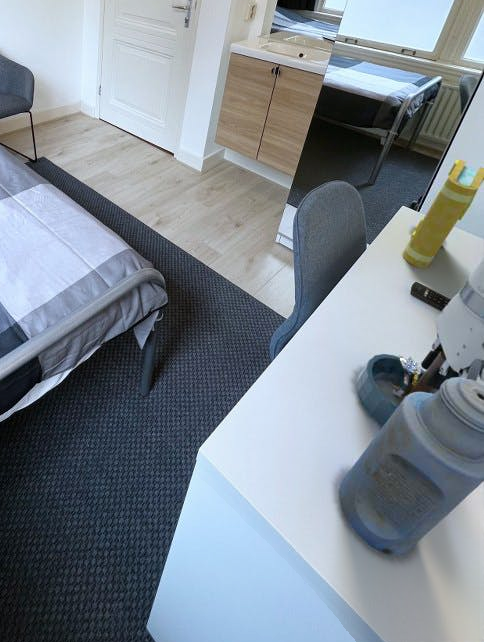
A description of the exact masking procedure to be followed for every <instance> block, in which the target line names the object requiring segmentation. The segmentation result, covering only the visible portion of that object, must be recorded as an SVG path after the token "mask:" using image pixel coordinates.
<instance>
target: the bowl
mask: <svg viewBox="0 0 484 642" xmlns="http://www.w3.org/2000/svg"><path fill="white" fill-rule="evenodd" d="M415 371H416V370H415ZM425 371H426V370H425V369H423V368H421V373H420V374H418V379H417V382H418V380H419V379H420V378H421V377H422V375H423V374H424V373H425ZM408 375H409V381H408V385H409V383H410V381H411V376H412V374H411V375H410V374H409V373H408ZM378 380H382V381H388V382H390V383H392V384H393V383H394V384H396V385H398V387H400V388H401V387H402V385H403V382H404V371H403V367H402V365H401V362H400V358H399V357H398V356H397V355H395V354H387V353H380V354H375V355H373V356H372V357H371V358H369V360H368V361H367V362H366V363H365V365H364V366H363V369H362V370H361V371H360V373H359V375H358V377H357V380H356V382H355V383H356V384H355V385H356V392H357V395H358V397H359V399H360V401H361V403H362V405H363V407H364V408H365V409H366V410H367V412H368V413H369V415H370V416H371V417H372V418H373V419H374V420H375V421H376V422H378V424H380V425H381V426H382V427H383V426H384V425H385V423H386V422H387V421H388V419H389V418H390V417H391V415H392V414H393V413H394V411H395V410H396V409H397V407H398V406H397V405H395V404H394V403H393V402H391V401H390V400H389V399H388V398H387V397H386V395H385V394H384V393H383V392H382V391H381V390H380V388H379V387H378V385H377V382H376V381H378ZM417 382H416V383H417ZM408 385H407V387H408ZM438 391H439V390H438Z"/></svg>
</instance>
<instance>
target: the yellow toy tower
mask: <svg viewBox="0 0 484 642" xmlns="http://www.w3.org/2000/svg"><path fill="white" fill-rule="evenodd" d="M466 164H467V161H465V160H462V159H460V158H457V159H456V160H455V162H454V163H453V165H452V167H451V169H450V171H449V172H448V174H447V176H448V177H447V179H446V181H445V182H444V184H443V185H442V187H441V188H440V190H439V193H438V194H437V196H436V198H435V199H434V201H433V202H432V203H431V206H430V208H429V209H428V211H427V213H426V214H425V215H424V217H423V218H421V219H420V222H419V223H418V225H417V226H416V228H415V229H414V231H413V232H412V234H411V236H410V238H411V239H410V241H409V242H408V244H407V245H406V248H405V249H404V251H403V252H402V258H403V259H404V260H405V261H406V262H408V263H409V264H411V265H412V266H414V267H416V268H421V269H426V268H428V267H429V266H430V264H431V263H432V261H433V260H434V258H435V257H436V255H437V253H438V252H439V250H440V249H441V247H442V246H443V244H444V242H445V241H446V239H447V238H448V236H449V235H450V233H451V231H452V230H453V228H454V227H455V225H456V224H457V222H458V221H461V220H462V219H463V217H464V216H465V214H466V213H467V211H468V210H469V208H470V207H471V205H472V203H473V201H474V198H475V197H476V195H477V193H478V191H479V188H480V187H481V185H482V183H483V182H484V167H483V166H480V167H479V168H478V169H474V168H472V167H469V166H466Z"/></svg>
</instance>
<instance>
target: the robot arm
mask: <svg viewBox="0 0 484 642" xmlns="http://www.w3.org/2000/svg"><path fill="white" fill-rule="evenodd" d="M435 329H436V336H437V337H436V339H435V340H434V342H433V343H432V344H431V350H430V351H428V353H427V354H426V356H425V358H424V359H423V360H422V361H421V362H420V367H421V369H422V370H425V371H426V370H427V369H428V367H429V366H430V365H431V363H432V362H433V361H434V360H435V358H436V357H437V356H438V354H439V353H440V352H441V351H444V353H445V356H446V360H445V362H444V363H443V365H442V366H441V368H437V367H436V369H435V370H434V371H433V373H432V374H431V375H430V376H429V378H428V379H427V380H426V384H427V386H429V387H432V388H435V389H437V390H439V389H440V386H441V384H442V383H443V382H444V381H446V380H447V379H450V378H455V377H459V378H465V379H471V380H474V381H477V382H478V377H479V380H480V381H481V382H484V257H483V258H482V259H481V260H480V262H479V263H478V265H476V268H475V269H474V270H473V272H472V273H471V274H470V276H469V277H468V278H467V279H466V281H465V283H464V284H463V285H462V287H461V288H460V289H459V290H458V292H457V293H456V294H455V295H454V296H453V297H452V298H451V300H450V301H449V302H448V303H447V304H446V306H444V308H443V309H442V310H441V312H440V313H439V315H438V317H437V318H436V320H435ZM451 368H452V369H453V370H451Z"/></svg>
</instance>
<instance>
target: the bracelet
mask: <svg viewBox="0 0 484 642" xmlns="http://www.w3.org/2000/svg"><path fill="white" fill-rule="evenodd" d="M397 357H399V358H400V362H401V365H402V367H403V371H404V382H403V385H402V387H400V389H399V385H397V384H395V383H393V382H392V387H393V388H392V394H393V395H394V396H396V397H398V398H400V399H404V398H405V397H406V396H407V395H408V394H409V392H410V391H411V390H412V388H413V387H414V386H415V384H416V382H417V379H418V374H420V373H421V369H422V367H421V365H420V364H419V363H418V362H417V361H415V360H414V359H413V357H412V356H406V357H404V356H402V355H400V354H399V355H398V356H397ZM415 370H416V371H415ZM408 373H409V374H410V375H411V374H412V376H411V381H410V383H409V385H408V381H409V375H408ZM407 385H408V387H407ZM394 388H395V389H394Z"/></svg>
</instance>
